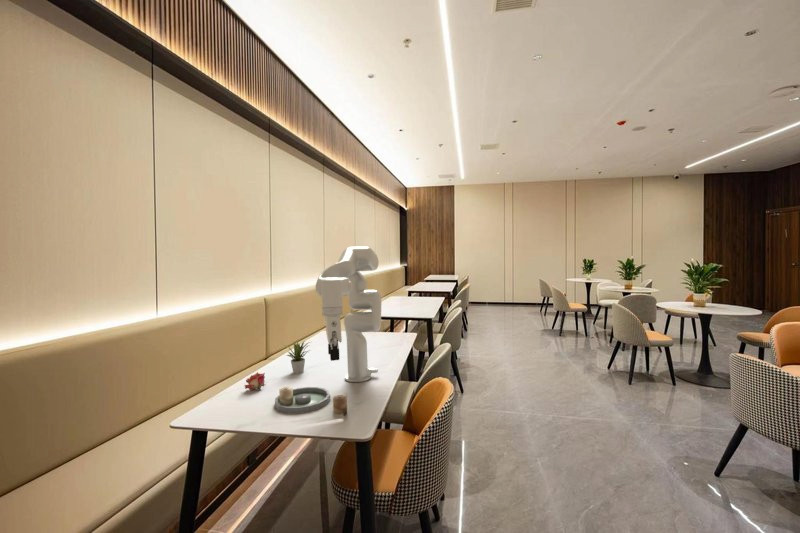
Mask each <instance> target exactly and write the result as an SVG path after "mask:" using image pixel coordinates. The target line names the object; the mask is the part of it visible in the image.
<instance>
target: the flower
mask: <svg viewBox="0 0 800 533" xmlns="http://www.w3.org/2000/svg"><path fill="white" fill-rule="evenodd" d="M245 381H246V383H247V384H245V385H244V389H245V390H247V389H248V390H249V391H257V389H258V391H262V389H261V388H262V387H264V386H266V384H267V383H265V372H263V373H259V372H255V374H253V375H251V376H250V377H248V378H247V379H245Z"/></svg>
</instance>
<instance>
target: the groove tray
mask: <svg viewBox="0 0 800 533" xmlns="http://www.w3.org/2000/svg"><path fill="white" fill-rule="evenodd" d="M330 401H331V394H330V390H328V389H326V388H324V387H319V386H307V387H305V386H304V387H297V388H293V404H292V405H290V406H283V405H280V394H279V395H278V396H277V397H275V400H274V408H275V409H276V410H277V411H278V412H280V413H283V414H302V413H309V412H312V411H313V412H314V411H316V410H318V409H321V408H323V407H325V406H326V405H328V404H329V402H330Z"/></svg>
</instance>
